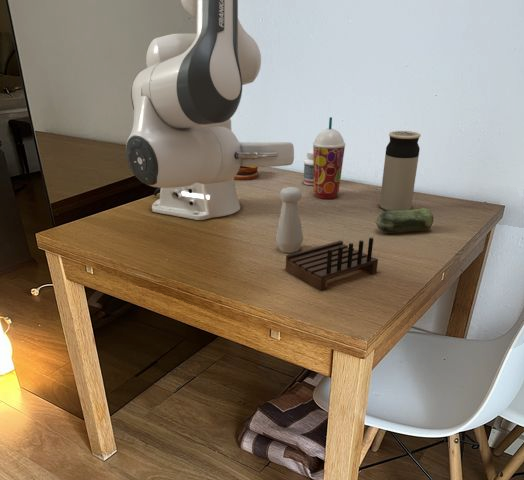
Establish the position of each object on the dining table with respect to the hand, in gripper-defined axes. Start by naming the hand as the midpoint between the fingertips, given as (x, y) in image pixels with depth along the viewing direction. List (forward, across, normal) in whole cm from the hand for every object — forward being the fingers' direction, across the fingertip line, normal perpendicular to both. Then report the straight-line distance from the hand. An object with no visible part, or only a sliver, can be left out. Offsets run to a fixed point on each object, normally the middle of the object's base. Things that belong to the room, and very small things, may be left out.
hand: (268, 151), depth 101 cm
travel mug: (+49, -1, +16) cm, 52 cm away
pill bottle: (+53, +28, +12) cm, 61 cm away
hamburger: (+46, +49, +10) cm, 68 cm away
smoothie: (+46, +18, +14) cm, 51 cm away
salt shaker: (+9, +2, +20) cm, 23 cm away
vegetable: (+35, -11, +19) cm, 41 cm away
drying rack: (+6, -11, +22) cm, 25 cm away
